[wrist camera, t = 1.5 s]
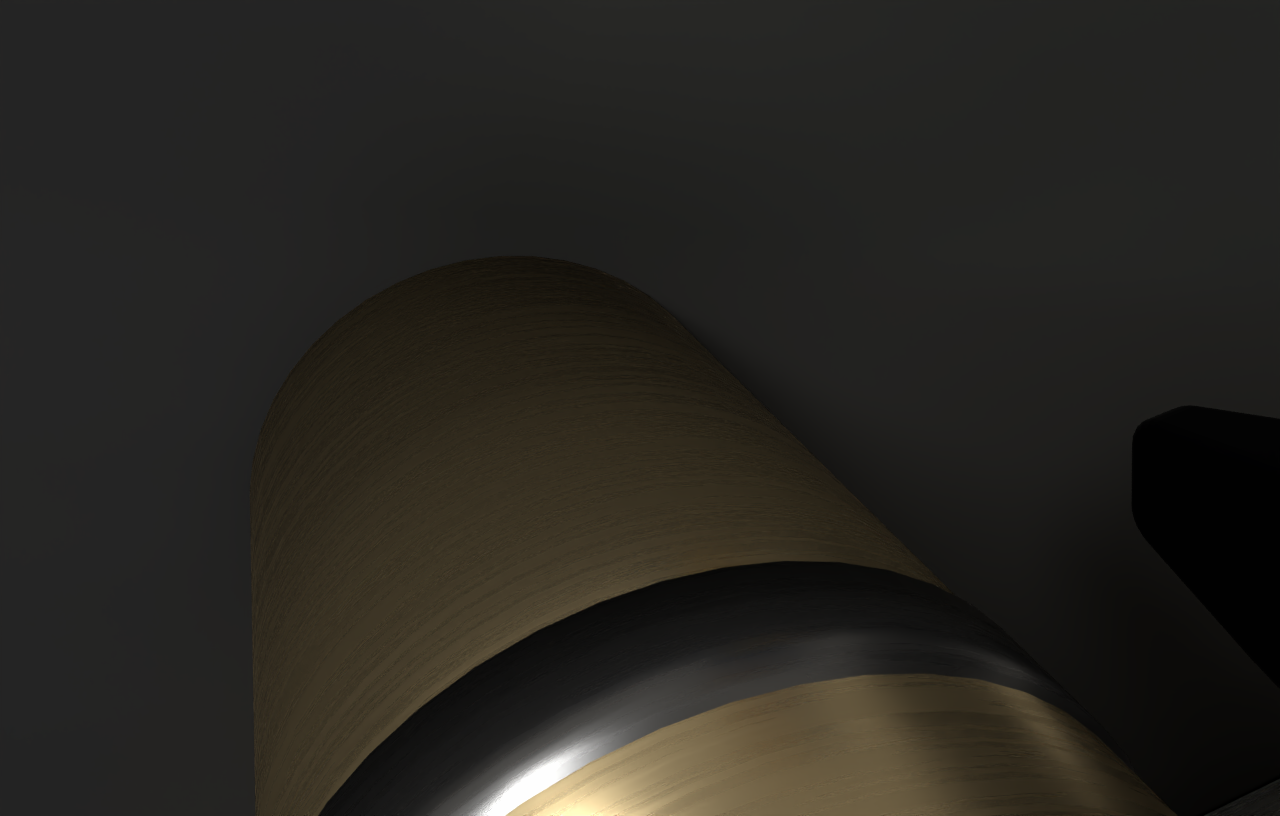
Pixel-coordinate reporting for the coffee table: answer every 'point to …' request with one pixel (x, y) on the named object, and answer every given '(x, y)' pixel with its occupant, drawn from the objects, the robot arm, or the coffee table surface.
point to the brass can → (608, 589)
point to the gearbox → (1254, 803)
